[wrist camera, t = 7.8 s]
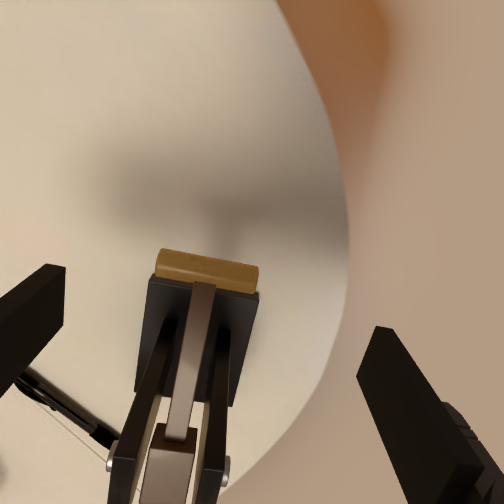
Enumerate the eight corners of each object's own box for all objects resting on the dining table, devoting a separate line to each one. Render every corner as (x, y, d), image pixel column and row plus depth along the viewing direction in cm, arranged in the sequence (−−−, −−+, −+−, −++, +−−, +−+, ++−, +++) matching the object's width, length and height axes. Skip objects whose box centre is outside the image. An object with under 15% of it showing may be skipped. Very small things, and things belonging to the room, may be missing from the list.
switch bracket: (152, 273, 27) (81, 400, 15) (258, 293, 28) (272, 429, 16) (137, 382, 30) (69, 557, 18) (232, 396, 31) (227, 573, 19)
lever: (164, 247, 19) (157, 248, 17) (256, 264, 20) (261, 268, 18) (121, 468, 20) (108, 500, 17) (213, 480, 20) (213, 513, 18)
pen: (2, 369, 29) (-7, 378, 28) (16, 357, 29) (7, 366, 28) (133, 463, 33) (129, 475, 32) (145, 454, 33) (142, 465, 32)
